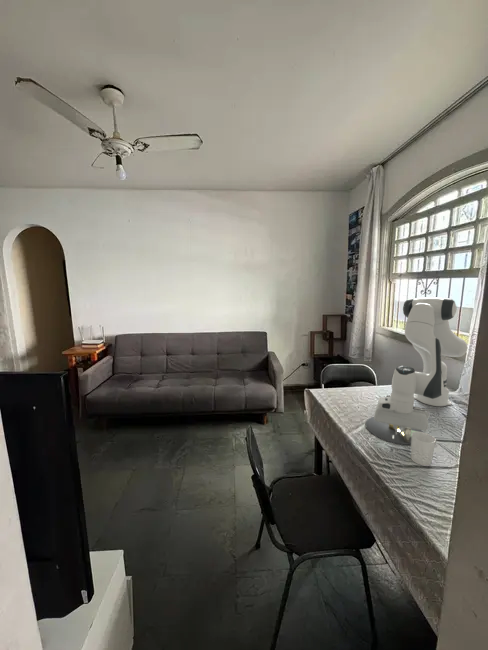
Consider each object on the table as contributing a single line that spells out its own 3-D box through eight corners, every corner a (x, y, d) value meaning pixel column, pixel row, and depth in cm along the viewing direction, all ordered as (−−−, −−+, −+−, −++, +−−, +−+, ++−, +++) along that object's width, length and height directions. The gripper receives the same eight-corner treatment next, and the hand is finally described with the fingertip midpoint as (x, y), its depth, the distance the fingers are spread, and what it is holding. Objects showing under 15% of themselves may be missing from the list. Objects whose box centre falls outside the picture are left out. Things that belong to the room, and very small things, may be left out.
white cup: (407, 452, 115) (410, 429, 113) (430, 457, 112) (433, 434, 110) (410, 464, 108) (413, 440, 106) (435, 469, 105) (438, 444, 103)
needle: (386, 425, 134) (388, 413, 133) (396, 425, 134) (397, 413, 133) (402, 442, 120) (404, 429, 119) (413, 442, 119) (414, 429, 118)
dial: (368, 413, 148) (368, 411, 148) (422, 424, 136) (422, 423, 136) (362, 435, 127) (363, 433, 127) (425, 451, 116) (425, 448, 115)
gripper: (429, 406, 118) (425, 436, 120) (375, 397, 126) (372, 425, 129) (431, 412, 112) (427, 444, 115) (375, 403, 121) (372, 432, 123)
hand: (398, 434), depth 122 cm, fingers closed
